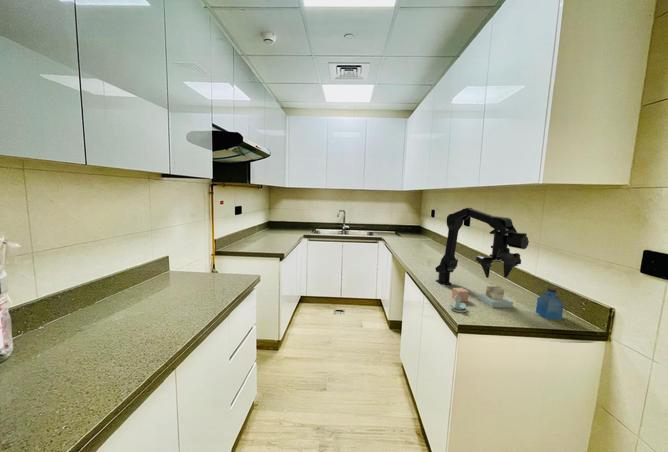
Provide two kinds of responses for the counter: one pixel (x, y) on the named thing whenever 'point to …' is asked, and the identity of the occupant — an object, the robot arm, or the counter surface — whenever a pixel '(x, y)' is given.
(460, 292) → the terracotta cube
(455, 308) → the pacifier
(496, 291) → the birch cube
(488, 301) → the blue-grey slab
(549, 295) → the perfume bottle
